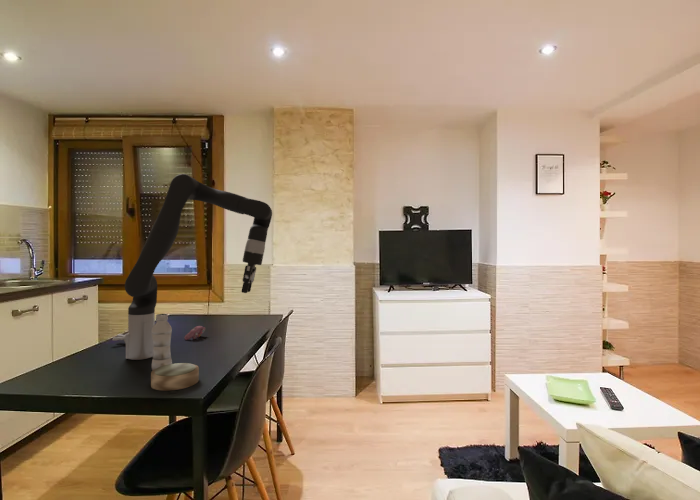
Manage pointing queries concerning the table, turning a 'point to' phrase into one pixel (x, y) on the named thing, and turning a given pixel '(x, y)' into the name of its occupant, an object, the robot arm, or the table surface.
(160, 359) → the plastic bottle
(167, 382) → the wooden stand
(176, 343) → the table surface
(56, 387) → the table surface
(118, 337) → the bunny figurine
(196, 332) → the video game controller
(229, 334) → the table surface
